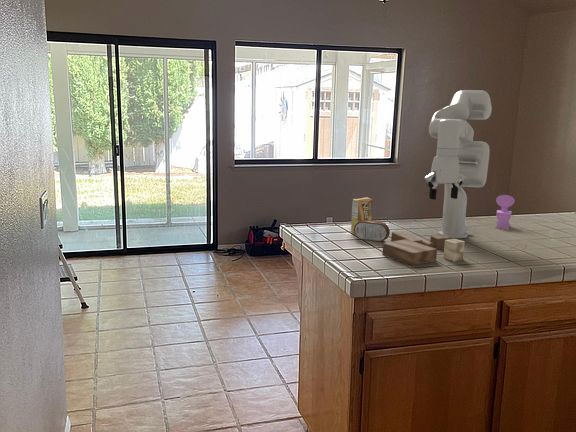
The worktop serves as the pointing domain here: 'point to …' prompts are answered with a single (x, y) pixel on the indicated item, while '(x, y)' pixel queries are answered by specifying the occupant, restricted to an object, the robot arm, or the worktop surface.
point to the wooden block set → (435, 240)
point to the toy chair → (504, 211)
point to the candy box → (361, 211)
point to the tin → (371, 230)
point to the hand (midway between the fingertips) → (443, 198)
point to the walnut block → (409, 252)
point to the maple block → (454, 249)
